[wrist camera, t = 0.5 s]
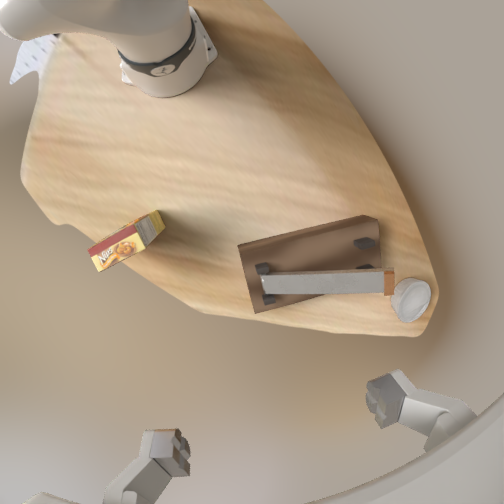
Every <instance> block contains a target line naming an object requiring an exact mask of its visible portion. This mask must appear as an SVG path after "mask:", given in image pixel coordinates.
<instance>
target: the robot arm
mask: <svg viewBox="0 0 504 504" xmlns="http://www.w3.org/2000/svg"><path fill="white" fill-rule="evenodd" d="M0 31H1V32H2V33H3V34H5V35H6V36H8V37H10V38H12V39H15V40H19V41H29V40H32V39H35V38H38V37H42V36H45V35H50V34H56V33H85V34H91V35H96V36H100V37H103V38H105V39H107V40H109V41H110V42H111V43H112V44H113V45H114V46H115V47H116V48H117V50H118V53H119V57H120V58H121V64H120V67H121V69H122V81H123V82H124V83H125V84H128V85H133V86H136V87H138V88H139V89H140V90H141V91H143V92H144V93H146V94H148V95H150V96H154V97H172V96H176V95H178V94H181V93H183V92H185V91H187V90H188V89H190V88H191V87H193V86H194V85H195V84H196V83H197V82H198V81H199V79H200V78H201V77H202V75H203V73H204V71H205V69H206V67H207V66H208V65H209V64H210V63H211V62H212V61H214V60H215V59H216V57H217V55H218V54H217V50H216V49H215V47H214V45H213V43H212V41H211V39H210V37H209V35H208V34H207V32H206V30H205V28H204V26H203V24H202V23H201V21H200V19H199V17H198V15H197V14H196V12H195V10H194V9H193V7H191V6H189V5H188V0H0ZM207 49H211V50H210V51H208V50H207ZM367 389H368V392H367V393H366V403H367V406H368V408H369V410H370V412H372V413H375V414H376V416H375V420H376V421H377V423H378V425H379V426H380V428H381V429H383V428H385V427H387V426H389V425H392V424H394V423H396V422H398V423H400V424H403V425H405V426H407V427H409V428H411V429H413V430H415V431H417V432H420V433H422V434H424V435H426V436H428V439H427V442H426V443H425V446H424V449H425V451H426V453H424V454H423V455H421V456H419V457H418V458H416V459H414V460H413V461H411V462H409V463H407V464H405V465H404V466H401V467H399V468H397V469H395V470H394V471H391V472H389V473H387V474H385V475H383V476H381V477H379V478H376V479H374V480H372V481H370V482H367V483H365V484H362V485H360V486H357V487H355V488H352V489H349V490H347V491H344V492H341V493H338V494H335V495H332V496H329V497H326V498H323V499H320V500H316V501H312V502H309V503H306V504H504V393H503V394H502V395H501V396H500V397H499V398H498V399H497V400H496V401H495V402H494V403H492V404H491V405H490V406H489V407H488V408H487V409H486V410H484V411H483V412H482V413H481V414H480V415H479V416H476V414H475V413H474V412H473V411H472V410H471V409H470V408H469V407H468V406H467V405H466V403H465V402H464V401H463V400H460V399H456V398H452V397H449V396H445V395H441V394H437V393H433V392H430V391H427V390H423V389H418V390H417V389H416V387H415V386H414V385H413V384H412V383H411V382H410V380H409V379H408V378H407V377H406V376H405V375H404V374H403V372H402V371H401V370H400V369H396V370H394V371H391V372H389V373H387V374H385V375H382V376H380V377H378V378H375V379H373V380H371V381H368V383H367ZM189 457H190V447H189V444H188V441H187V440H186V439H185V438H184V437H182V436H181V431H180V430H179V429H157V430H145V431H144V433H143V438H142V443H141V448H140V453H139V458H135V459H134V460H133V461H132V462H131V463H130V464H129V465H128V466H127V467H126V468H125V469H124V470H123V471H122V472H121V473H120V474H119V475H118V476H117V477H116V478H115V479H114V480H113V481H112V482H111V483H110V484H109V485H108V486H107V487H106V490H105V494H104V499H103V504H154V503H155V502H156V500H157V499H158V497H159V496H160V495H161V493H162V492H163V490H164V489H165V488H166V486H167V485H168V483H169V482H170V480H171V479H172V477H184V476H190V464H189V463H188V461H187V460H188V459H189ZM23 504H79V503H75V502H72V501H69V500H66V499H62V498H59V497H56V496H53V495H51V494H48V493H44V492H40V493H38V494H36V495H34V496H33V497H31V498H30V499H28V500H27V501H25V502H24V503H23Z"/></svg>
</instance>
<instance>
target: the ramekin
mask: <svg viewBox="0 0 504 504" xmlns="http://www.w3.org/2000/svg"><path fill="white" fill-rule="evenodd" d="M430 298H431V290H430V287H429V285H428V284H427V283H426V282H425V281H423V280H418V279H415V278H406V279H404V280H402V281H401V282H400V283H398V284H397V286H396V287H395V289H394V295H392V296H391V306H392V308H393V310H394V311H395V313H396V314H397V316H398V318H399V319H400V320H401V321H403V322H412V321H414V320H416V319H417V318H419V317H420V316H421V315H422V314H423V313H424V311H425V310H426V308H427V306H428V304H429V302H430Z"/></svg>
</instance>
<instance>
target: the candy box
mask: <svg viewBox="0 0 504 504" xmlns="http://www.w3.org/2000/svg"><path fill="white" fill-rule="evenodd" d="M164 229H165V225H164V223H163V221H162V219H161V217H160V215H159V213H158V211H157V210H155V211H153V212H151V213H149V214H146V215H144V216H142V217H140V218H138V219H136V220H134V221H132V222H131V223H129V224H127V225H125V226H123V227H122V228H120V229H118V230H117V231H115V232H113V233H112V234H110V235H109V236H107V237H105V238H104V239H102V240H101V241H99V242H98V243H96V244H95V245H93V246H92V247H90V248H88V249H87V250H88V252H89V254H90V256H91V258H92V260H93V262H94V263H95V266H96V267H97V269H98V271H99V272H101V271H103V270H105V269H107V268H109V267H111V266H113V265H115V264H117V263H119V262H121V261H123V260H125V259H126V258H128V257H130V256H132V255H134V254H136V253H138V252H140V251H142V250H144V249H145V248H146V247H147V246H148V245H149V244H150V243H151V242H152V241H153V240H154V239H155V238H156V237H157V236H158V235H159V234H160V233H161V232H162V231H163V230H164Z"/></svg>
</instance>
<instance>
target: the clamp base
mask: <svg viewBox="0 0 504 504" xmlns="http://www.w3.org/2000/svg"><path fill="white" fill-rule="evenodd" d="M238 249H239V253H240V257H241V261H242V265H243V269H244V273H245V277H246V281H247V285H248V289H249V293H250V297H251V301H252V305H253V308H254V312H255V314H256V313H260V312H264V311H268V310H271V309H275V308H279V307H283V306H286V305H290V304H293V303H297V302H301V301H304V300H308V299H311V298H314V297H318V296H321V295H325V294H270V295H264V292H263V287H262V283H261V279H260V274H264V273H269V272H303V271H331V270H355V269H377V268H381V253H380V237H379V224H378V220H377V219H374V218H371V217H368V216H365V215H360V216H356V217H352V218H348V219H343V220H339V221H335V222H331V223H327V224H322V225H318V226H314V227H310V228H306V229H301V230H297V231H293V232H289V233H285V234H281V235H277V236H273V237H269V238H264V239H260V240H256V241H252V242H248V243H244V244H240V245H238Z"/></svg>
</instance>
